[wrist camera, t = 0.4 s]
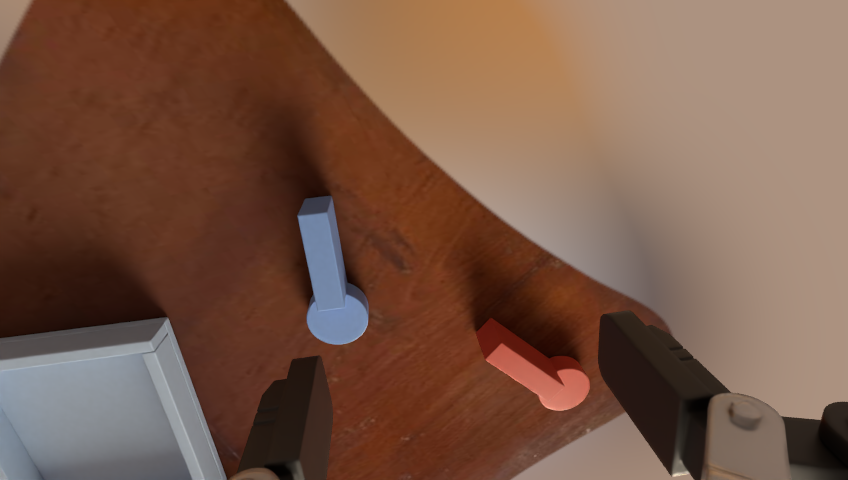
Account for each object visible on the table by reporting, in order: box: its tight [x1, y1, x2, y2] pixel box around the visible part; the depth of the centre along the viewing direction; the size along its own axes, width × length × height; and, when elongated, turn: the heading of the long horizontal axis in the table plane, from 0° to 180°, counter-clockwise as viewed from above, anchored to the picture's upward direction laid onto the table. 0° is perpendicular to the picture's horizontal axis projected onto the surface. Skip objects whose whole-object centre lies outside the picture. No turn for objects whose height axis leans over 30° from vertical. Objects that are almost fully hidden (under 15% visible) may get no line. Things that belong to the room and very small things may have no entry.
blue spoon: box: [297, 196, 368, 344], centre depth 28 cm, size 10×4×3 cm, turn 5°
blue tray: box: [0, 317, 227, 480], centre depth 30 cm, size 15×13×3 cm
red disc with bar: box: [476, 318, 590, 410], centre depth 32 cm, size 10×4×3 cm, turn 50°
